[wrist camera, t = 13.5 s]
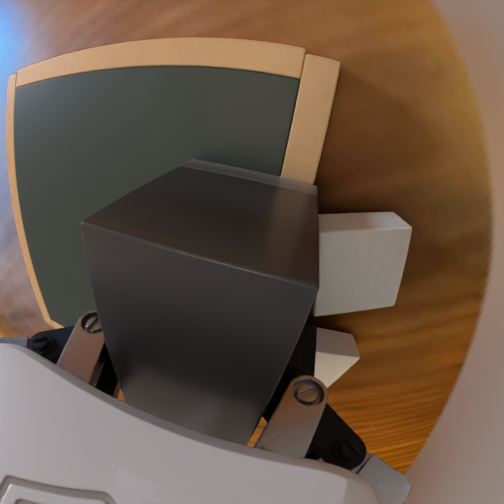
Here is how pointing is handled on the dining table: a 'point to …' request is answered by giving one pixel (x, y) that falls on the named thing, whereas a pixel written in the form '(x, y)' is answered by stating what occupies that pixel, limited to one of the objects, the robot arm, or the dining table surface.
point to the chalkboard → (148, 136)
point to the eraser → (205, 291)
